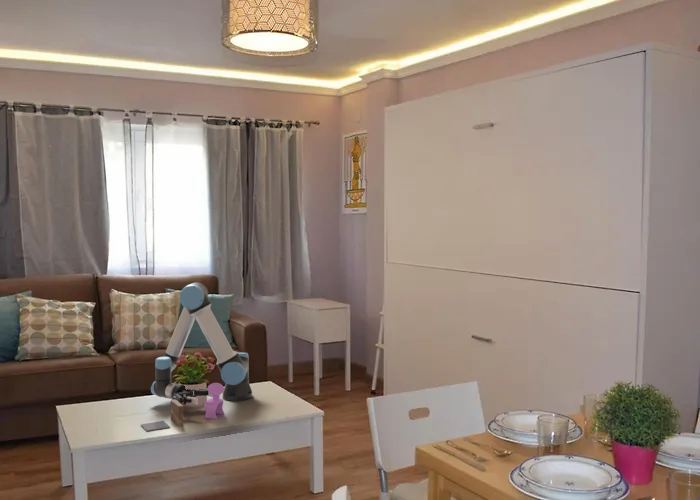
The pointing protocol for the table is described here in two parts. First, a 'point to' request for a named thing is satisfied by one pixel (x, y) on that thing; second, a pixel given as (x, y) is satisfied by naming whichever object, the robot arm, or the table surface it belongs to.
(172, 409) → the brown wooden slab
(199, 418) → the table surface
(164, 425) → the coaster
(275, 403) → the table surface
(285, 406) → the table surface
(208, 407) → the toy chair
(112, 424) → the table surface
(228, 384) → the robot arm
